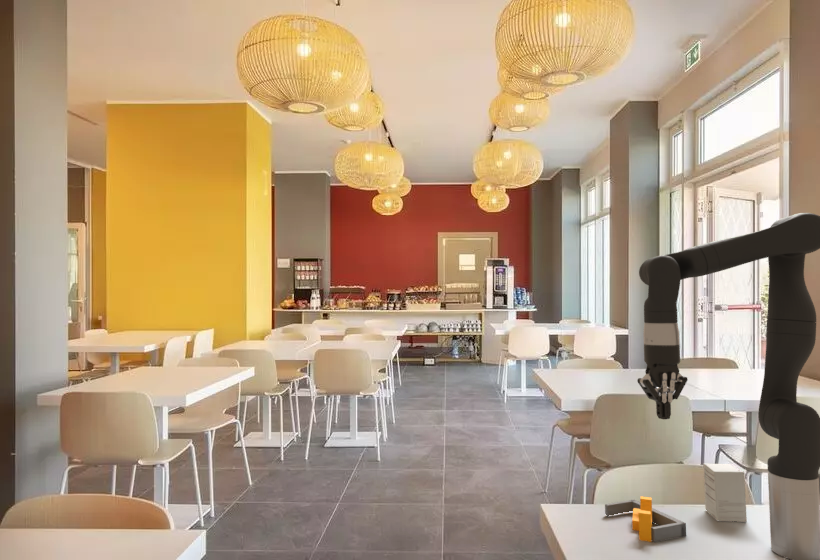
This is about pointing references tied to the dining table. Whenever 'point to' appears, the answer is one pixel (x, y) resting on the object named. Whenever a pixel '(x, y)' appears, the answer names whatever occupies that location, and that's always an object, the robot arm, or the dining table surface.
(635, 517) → the pipe clamp
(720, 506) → the supplement box
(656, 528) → the frame
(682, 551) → the dining table surface
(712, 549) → the dining table surface
